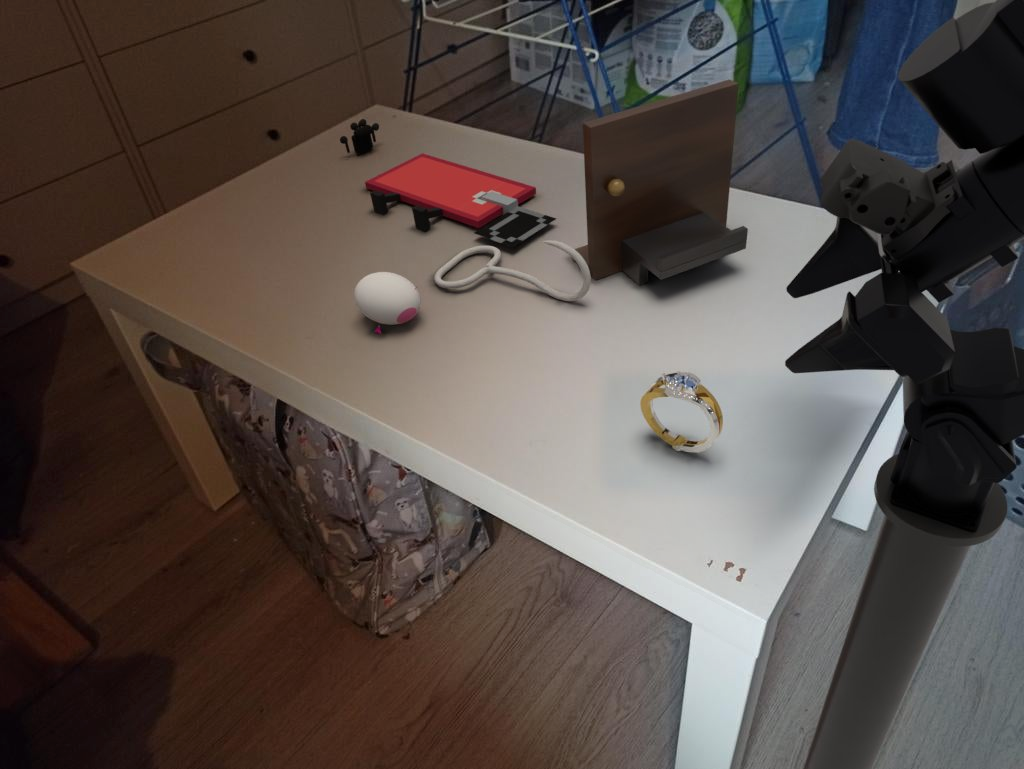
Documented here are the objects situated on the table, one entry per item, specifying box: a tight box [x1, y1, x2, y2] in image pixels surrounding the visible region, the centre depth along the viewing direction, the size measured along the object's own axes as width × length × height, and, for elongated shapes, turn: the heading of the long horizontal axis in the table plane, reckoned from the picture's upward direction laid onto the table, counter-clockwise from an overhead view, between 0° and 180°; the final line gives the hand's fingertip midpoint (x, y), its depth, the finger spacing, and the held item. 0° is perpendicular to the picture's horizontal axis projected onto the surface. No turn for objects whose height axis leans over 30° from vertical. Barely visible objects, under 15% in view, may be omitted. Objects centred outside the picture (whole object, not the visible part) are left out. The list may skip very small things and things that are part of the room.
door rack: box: [571, 79, 749, 286], centre depth 86 cm, size 13×18×18 cm
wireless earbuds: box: [339, 118, 380, 155], centre depth 122 cm, size 7×2×5 cm, turn 131°
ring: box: [639, 371, 724, 453], centre depth 67 cm, size 7×3×8 cm, turn 49°
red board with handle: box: [364, 152, 557, 248], centre depth 106 cm, size 30×3×15 cm
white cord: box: [433, 240, 592, 302], centre depth 89 cm, size 7×9×20 cm
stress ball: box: [353, 271, 421, 335], centre depth 87 cm, size 8×8×7 cm
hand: (789, 328), depth 59 cm, fingers open, 9 cm apart
